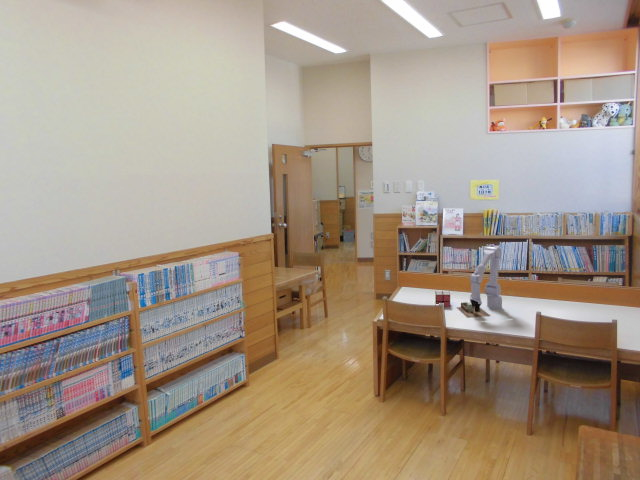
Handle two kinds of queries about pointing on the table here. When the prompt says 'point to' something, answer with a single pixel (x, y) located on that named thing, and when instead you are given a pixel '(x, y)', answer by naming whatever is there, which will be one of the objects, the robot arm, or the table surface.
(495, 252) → the robot arm
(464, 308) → the shelf lane
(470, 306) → the sage block
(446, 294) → the puzzle cube
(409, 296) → the table surface
